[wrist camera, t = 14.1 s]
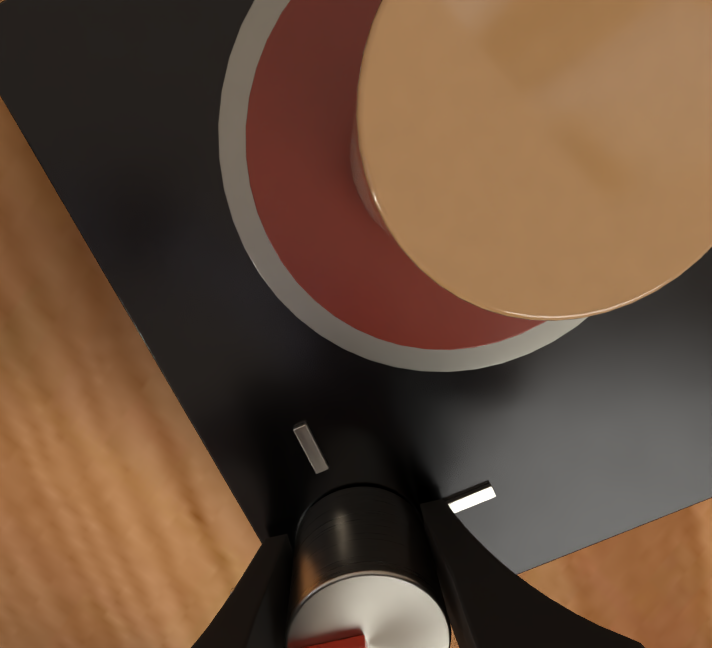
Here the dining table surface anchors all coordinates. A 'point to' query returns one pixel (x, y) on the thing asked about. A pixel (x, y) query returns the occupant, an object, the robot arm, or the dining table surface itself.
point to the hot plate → (317, 354)
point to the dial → (364, 576)
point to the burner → (336, 200)
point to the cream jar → (539, 147)
